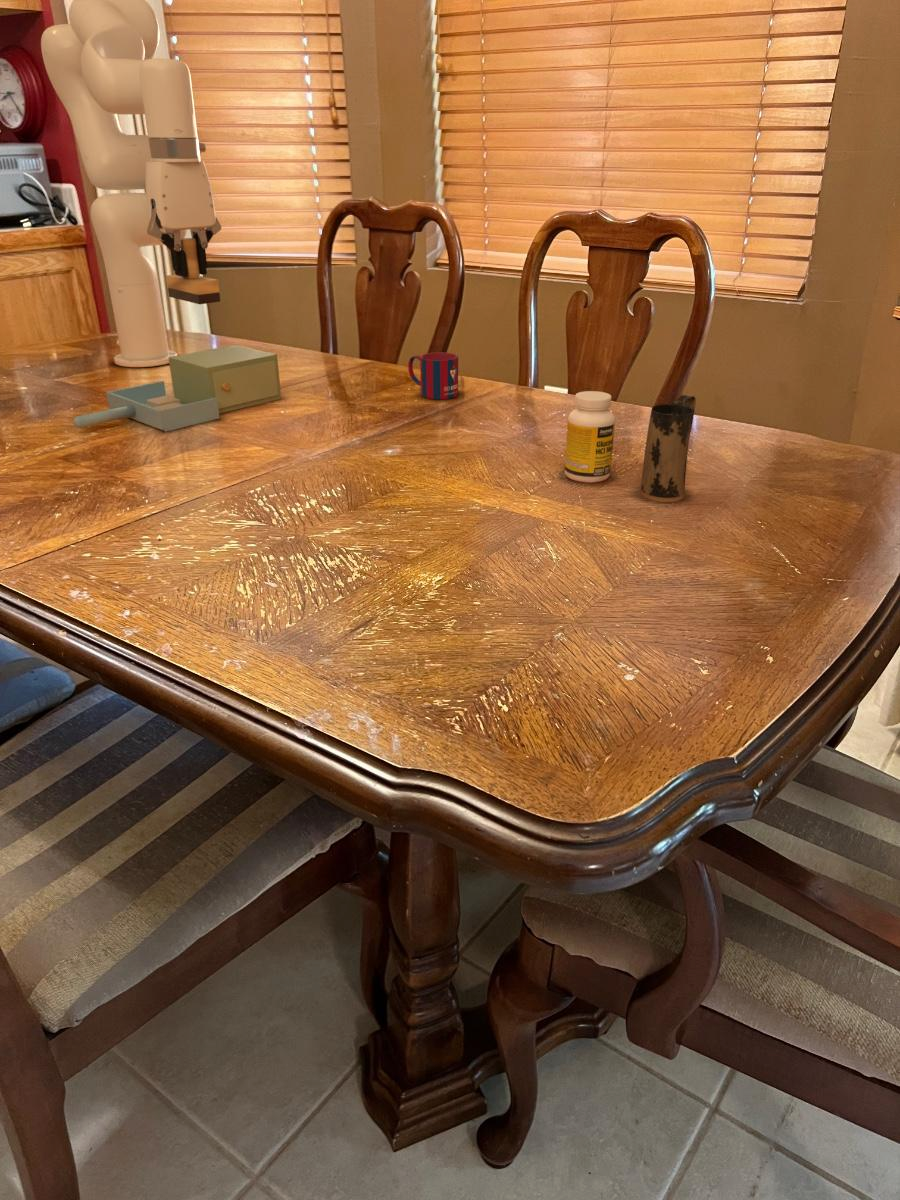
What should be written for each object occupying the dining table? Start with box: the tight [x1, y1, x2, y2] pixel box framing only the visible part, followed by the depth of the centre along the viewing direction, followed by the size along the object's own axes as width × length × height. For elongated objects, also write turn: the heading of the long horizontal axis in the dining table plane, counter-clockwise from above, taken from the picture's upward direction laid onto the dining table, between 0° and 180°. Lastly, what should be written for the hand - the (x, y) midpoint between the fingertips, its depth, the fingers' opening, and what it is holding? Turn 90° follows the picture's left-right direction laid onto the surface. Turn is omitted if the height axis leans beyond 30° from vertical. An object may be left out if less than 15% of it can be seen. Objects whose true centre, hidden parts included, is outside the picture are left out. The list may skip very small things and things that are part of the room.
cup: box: [407, 351, 459, 400], centre depth 154 cm, size 7×10×7 cm
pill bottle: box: [563, 390, 616, 484], centre depth 114 cm, size 6×6×11 cm
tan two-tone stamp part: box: [165, 237, 221, 305], centre depth 144 cm, size 10×4×10 cm, turn 45°
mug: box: [640, 394, 697, 503], centre depth 108 cm, size 8×6×12 cm
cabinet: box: [168, 344, 282, 415], centre depth 149 cm, size 13×14×8 cm
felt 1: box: [146, 395, 180, 408], centre depth 145 cm, size 4×4×2 cm
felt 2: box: [154, 403, 181, 410], centre depth 141 cm, size 4×4×2 cm
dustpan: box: [72, 380, 220, 433], centre depth 139 cm, size 20×17×3 cm
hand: (190, 273), depth 144 cm, fingers closed on tan two-tone stamp part, 2 cm apart
